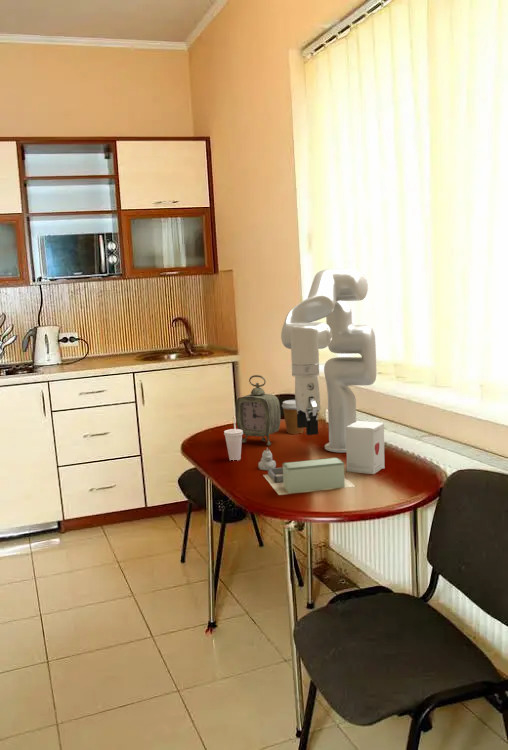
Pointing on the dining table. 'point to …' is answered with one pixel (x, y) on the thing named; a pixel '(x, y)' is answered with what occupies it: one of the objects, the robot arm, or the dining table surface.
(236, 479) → the dining table surface
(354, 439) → the supplement box
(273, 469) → the socket
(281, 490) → the board
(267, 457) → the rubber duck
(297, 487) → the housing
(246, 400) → the tabletop clock
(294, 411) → the disposable coffee cup
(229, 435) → the smoothie
